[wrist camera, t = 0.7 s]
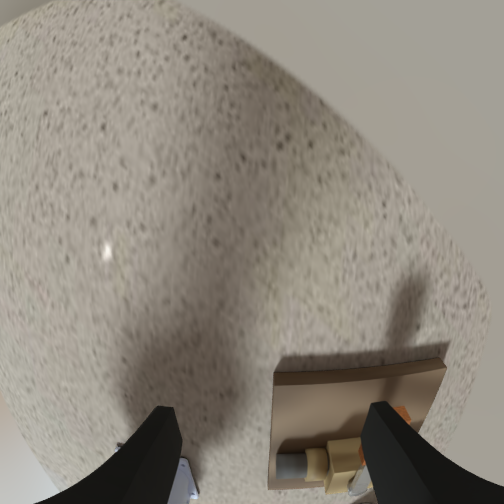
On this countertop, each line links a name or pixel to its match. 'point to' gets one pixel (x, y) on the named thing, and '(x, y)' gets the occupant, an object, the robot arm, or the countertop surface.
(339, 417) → the valve base
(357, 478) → the valve lever
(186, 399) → the countertop surface
